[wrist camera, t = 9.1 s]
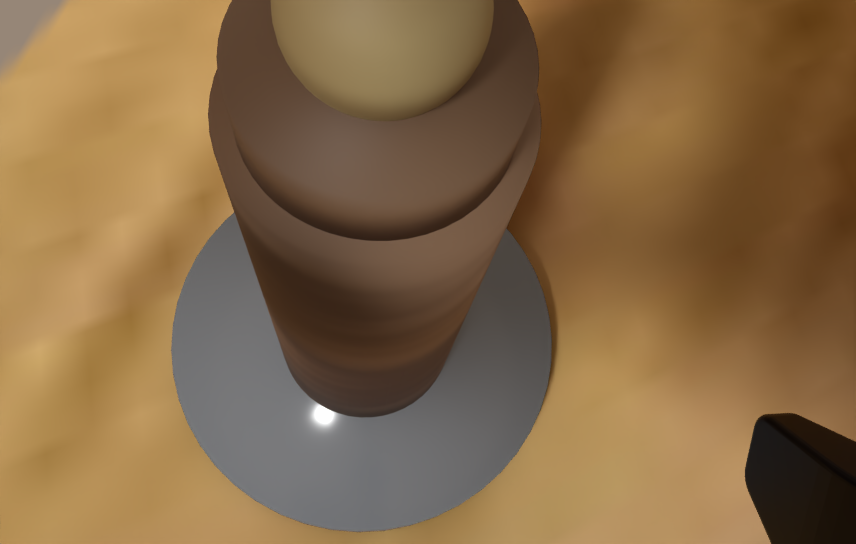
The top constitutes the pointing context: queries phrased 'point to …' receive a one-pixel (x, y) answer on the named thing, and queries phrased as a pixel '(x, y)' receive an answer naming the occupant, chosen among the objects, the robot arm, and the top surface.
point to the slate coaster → (345, 435)
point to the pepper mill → (373, 176)
